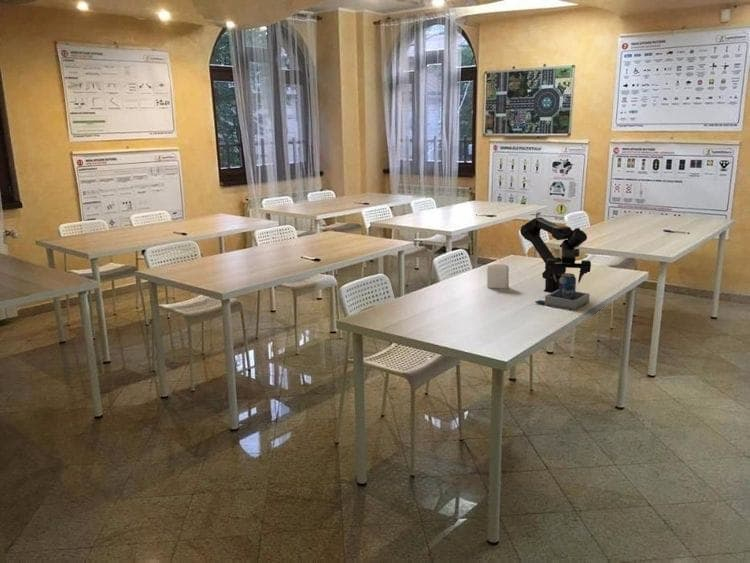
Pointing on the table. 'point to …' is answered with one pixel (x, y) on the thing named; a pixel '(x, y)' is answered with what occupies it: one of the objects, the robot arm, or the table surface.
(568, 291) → the soda can
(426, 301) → the table surface
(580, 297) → the tray
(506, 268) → the photo printer
